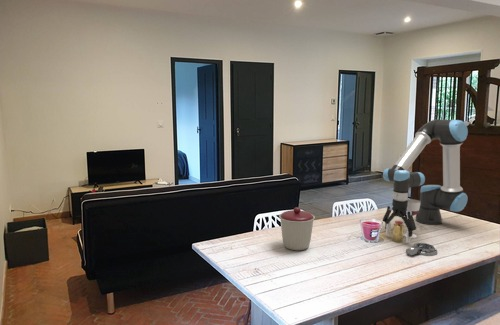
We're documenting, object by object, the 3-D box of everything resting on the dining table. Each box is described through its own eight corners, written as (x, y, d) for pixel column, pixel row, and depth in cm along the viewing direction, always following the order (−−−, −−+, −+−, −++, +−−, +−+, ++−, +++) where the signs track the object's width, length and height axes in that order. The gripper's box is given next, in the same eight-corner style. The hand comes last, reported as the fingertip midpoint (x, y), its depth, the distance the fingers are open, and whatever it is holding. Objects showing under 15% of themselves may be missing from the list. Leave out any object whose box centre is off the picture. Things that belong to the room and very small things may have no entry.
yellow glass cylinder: (396, 238, 202) (397, 219, 200) (404, 241, 198) (405, 222, 196) (390, 240, 199) (391, 221, 198) (398, 243, 195) (399, 223, 194)
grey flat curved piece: (420, 244, 193) (420, 237, 192) (442, 252, 183) (442, 245, 182) (398, 251, 184) (398, 244, 183) (419, 260, 173) (420, 252, 173)
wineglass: (416, 239, 201) (418, 203, 198) (399, 235, 206) (401, 201, 203) (419, 235, 208) (422, 200, 205) (403, 231, 213) (405, 198, 210)
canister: (313, 255, 180) (314, 213, 177) (276, 252, 184) (277, 211, 180) (314, 241, 197) (315, 203, 194) (281, 239, 201) (281, 202, 198)
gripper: (376, 195, 203) (375, 233, 207) (416, 205, 183) (413, 246, 186) (385, 194, 207) (383, 230, 211) (425, 203, 187) (422, 244, 190)
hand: (397, 238), depth 198 cm, fingers open, 12 cm apart
